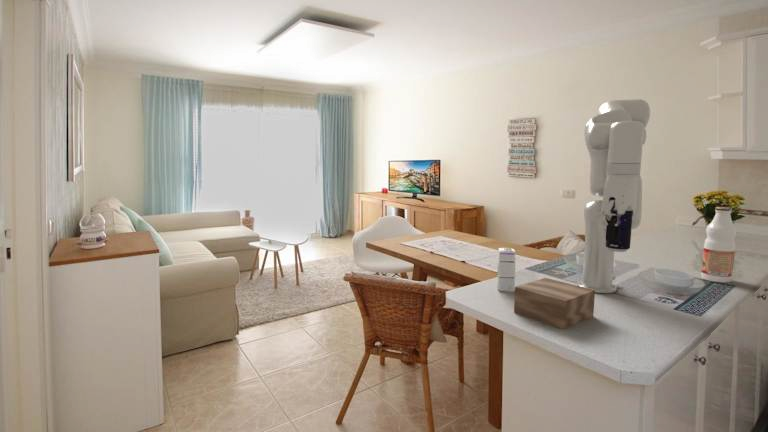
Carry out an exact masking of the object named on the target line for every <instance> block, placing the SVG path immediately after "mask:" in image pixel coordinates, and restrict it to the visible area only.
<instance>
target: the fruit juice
mask: <svg viewBox="0 0 768 432" xmlns="http://www.w3.org/2000/svg"><path fill="white" fill-rule="evenodd" d="M714 211H715V215H714V216H713V219H712V220H711V222H710V223H708V225H707V226H706V229H705V234H706V238H705V240H704V243H703V250H702V251H703V252H702V261H701V262H702V263H701V271H700V277H701V279H703V280H705V281H709V282H713V283H725V284H726V283H727V282H728V283H730V282H732V279H733V271H734V264H735V263H734V262H735V254H736V241H735V239H736V237H737V233H738V231H737V227H736V226H735V225H734V222H733V220H732V215H731V213H732V211H733V208H732V207H728V206H716V207H714Z"/></svg>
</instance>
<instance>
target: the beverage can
mask: <svg viewBox="0 0 768 432" xmlns="http://www.w3.org/2000/svg"><path fill="white" fill-rule="evenodd" d="M612 213H614V214H618V213H617V212H612ZM632 217H633V210H632V206H628V209H627V210H626V211H625V214H623V215H621V218H620V222H619V226H620V238H619V241H618V242H614V241H608V240H606V245H605V246H606V247H607V248H608V250H611V251H614V252H616V253H617V252H618V253H625V252H627V251H628V250H630V249H631V240H632V238H631V237H632V230H633V229H632ZM615 220H616V217H615Z"/></svg>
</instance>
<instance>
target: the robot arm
mask: <svg viewBox="0 0 768 432" xmlns="http://www.w3.org/2000/svg"><path fill="white" fill-rule="evenodd" d="M650 116H651V108H650V105H649V103H648V102H647V101H646V100H644V99H641V98H640V99H634V98H633V99H619V100H618V99H617V100H616V99H615V100H608V101H606V102H604V103H603V104H601V105H600V107H599V108H598V110H597V114H596V115H595V116H594V117H591V118H590V119H589V121H587V123H586V124H585V127H584V141H585V145H586V149H587V151H588V153H589V157H590V172H589V173H590V174H589V191H590V193H591V195H592V196H595V197H599V198H600V197H601V198H602V200H601V199H600V200H597V199H596V200H593V201H592V200H591V201H589V202H587V203H586V205H585V206H584V211H583V216H584V229H585V231H584V248H583V250H584V251H583V263H582V264H583V266H582V279H581V280H579V281H577V284H576V286H580V287H584V288H588V289H592V290H595V294H596V293H597V294H613V293H616V292H617V288H618V287H617V286H616V285H614V284H613V280H616V275H615V274H614V265H615V264H614V263H615V261H614V260H615V251H611V250H608V248H607V247H606V246H605V245H606V240H608V241H614V242H618V241H619V238H620V226H619V222H620V218H621V215H623V214H625V211H626V210H627V209H628V206H632V210H633V217H632V229H631V230H633V229H637V228H639V226H640V224H641V221H642V211H643V209H642V208H643V207H642V203H643V200H642V198H643V181H642V180H643V179H642V177H641V169H642V155H643V146H644V145H645V143H646V141H647V130H646V128H647V126H648V123H649V121H650ZM612 212H617V213H618V214H614V213H612ZM615 217H616V220H615Z"/></svg>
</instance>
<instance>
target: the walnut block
mask: <svg viewBox="0 0 768 432" xmlns="http://www.w3.org/2000/svg"><path fill="white" fill-rule="evenodd" d="M595 297H596V292H595V290H592V289H588V288H584V287H580V286H577V284H572V283H568V282H564V281H559V280H555V279H552V278H547V277H544V278H541V279H537V280H534V281H530V282H526V283H523V284H520V285H515V290H514V306H513V308H514V309H513V314H514V313H515V314H518V315H520V316H523V317H526V318H530V319H532V320H535V321H538V322H541V323H542V324H543V323H544V324H547V325H549V326H552V327H556V328H559V329H561V330H566V329H568V328H570V327H573V326H575V325H578V324H580V323H582V322H584V321H586V320H589V319H590V318H593V317H594V312H595V311H594V310H595Z"/></svg>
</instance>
